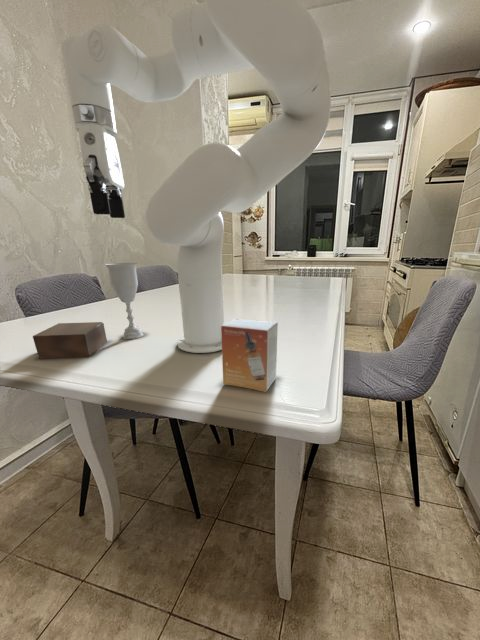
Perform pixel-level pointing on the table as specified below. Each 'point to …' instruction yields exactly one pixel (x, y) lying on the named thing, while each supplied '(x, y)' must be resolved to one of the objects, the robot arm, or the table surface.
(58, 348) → the walnut block
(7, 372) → the table surface
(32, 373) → the table surface
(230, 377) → the small box
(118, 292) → the chalice
